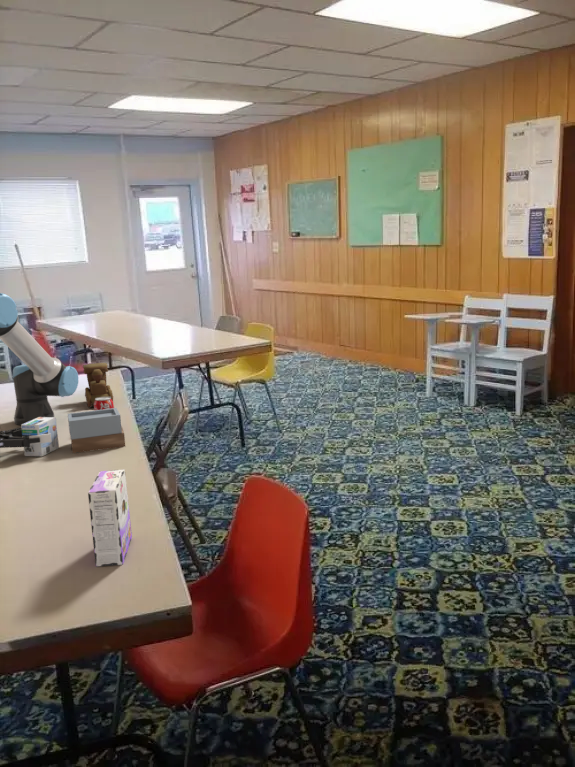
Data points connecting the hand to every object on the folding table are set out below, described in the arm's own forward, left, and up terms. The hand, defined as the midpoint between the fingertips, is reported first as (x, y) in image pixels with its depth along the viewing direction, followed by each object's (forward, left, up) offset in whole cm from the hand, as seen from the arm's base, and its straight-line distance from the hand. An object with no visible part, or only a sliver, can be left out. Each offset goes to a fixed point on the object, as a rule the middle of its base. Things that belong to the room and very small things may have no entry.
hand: (51, 433), depth 230 cm
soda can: (-20, +18, -6) cm, 28 cm away
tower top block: (0, +14, -2) cm, 14 cm away
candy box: (+92, +13, -6) cm, 93 cm away
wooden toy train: (-70, +19, -6) cm, 73 cm away
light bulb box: (0, -4, -6) cm, 7 cm away
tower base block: (0, +15, -7) cm, 16 cm away
